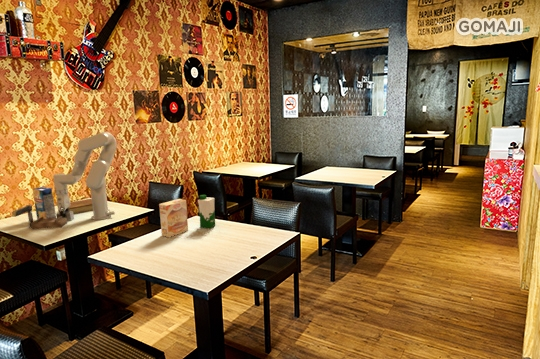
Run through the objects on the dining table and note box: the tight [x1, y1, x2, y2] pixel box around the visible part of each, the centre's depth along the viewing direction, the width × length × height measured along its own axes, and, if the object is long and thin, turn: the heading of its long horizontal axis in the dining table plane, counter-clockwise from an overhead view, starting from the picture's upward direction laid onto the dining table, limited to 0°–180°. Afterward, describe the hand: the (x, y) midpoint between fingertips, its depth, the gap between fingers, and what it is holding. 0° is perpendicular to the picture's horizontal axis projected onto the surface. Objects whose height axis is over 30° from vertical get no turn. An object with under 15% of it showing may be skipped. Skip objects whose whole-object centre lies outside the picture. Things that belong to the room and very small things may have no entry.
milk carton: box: [197, 194, 216, 229], centre depth 238 cm, size 9×9×20 cm
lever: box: [11, 204, 33, 218], centre depth 238 cm, size 16×3×3 cm, turn 178°
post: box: [27, 209, 34, 229], centre depth 246 cm, size 4×4×11 cm
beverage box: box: [32, 186, 57, 220], centre depth 261 cm, size 7×11×22 cm, turn 61°
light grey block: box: [56, 211, 75, 222], centre depth 260 cm, size 9×5×7 cm, turn 96°
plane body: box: [31, 216, 68, 230], centre depth 248 cm, size 18×9×5 cm, turn 96°
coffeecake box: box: [158, 198, 189, 238], centre depth 227 cm, size 15×7×20 cm, turn 143°
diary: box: [68, 198, 93, 215], centre depth 286 cm, size 23×19×6 cm
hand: (65, 217), depth 260 cm, fingers open, 5 cm apart
